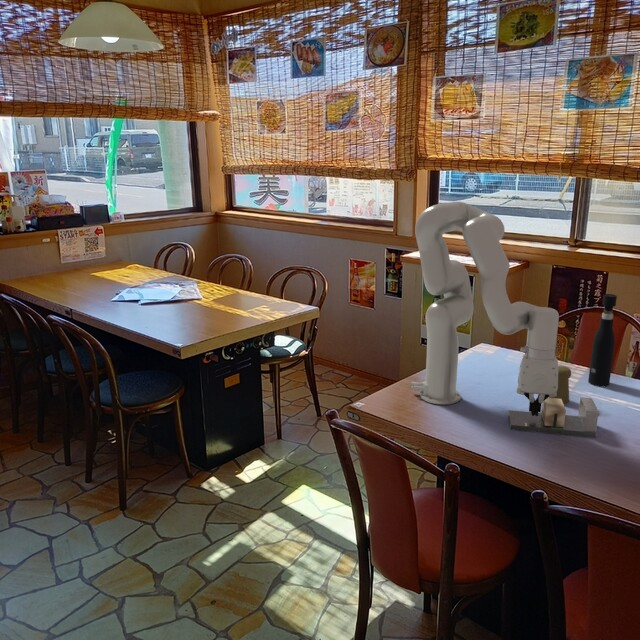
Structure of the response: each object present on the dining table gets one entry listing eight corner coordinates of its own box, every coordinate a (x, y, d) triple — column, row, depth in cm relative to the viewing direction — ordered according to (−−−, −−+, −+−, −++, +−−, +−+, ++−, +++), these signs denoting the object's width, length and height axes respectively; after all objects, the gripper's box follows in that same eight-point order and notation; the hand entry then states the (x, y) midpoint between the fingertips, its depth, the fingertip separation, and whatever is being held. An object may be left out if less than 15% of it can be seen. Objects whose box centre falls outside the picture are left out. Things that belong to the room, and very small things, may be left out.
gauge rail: (510, 429, 168) (513, 405, 166) (508, 414, 177) (510, 391, 175) (595, 437, 163) (599, 412, 161) (588, 421, 172) (591, 397, 170)
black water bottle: (610, 381, 201) (622, 294, 193) (607, 388, 196) (620, 298, 188) (589, 378, 205) (600, 292, 196) (586, 384, 199) (597, 296, 191)
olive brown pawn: (571, 405, 183) (575, 371, 180) (550, 403, 184) (553, 370, 181) (567, 397, 189) (571, 364, 186) (547, 396, 190) (550, 363, 187)
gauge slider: (545, 427, 165) (546, 410, 164) (541, 413, 174) (542, 397, 172) (564, 428, 164) (566, 411, 163) (559, 414, 173) (561, 398, 171)
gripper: (512, 355, 163) (507, 417, 168) (571, 358, 160) (564, 422, 165) (510, 346, 170) (505, 406, 175) (567, 349, 167) (560, 410, 172)
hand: (534, 413), depth 170 cm, fingers closed
